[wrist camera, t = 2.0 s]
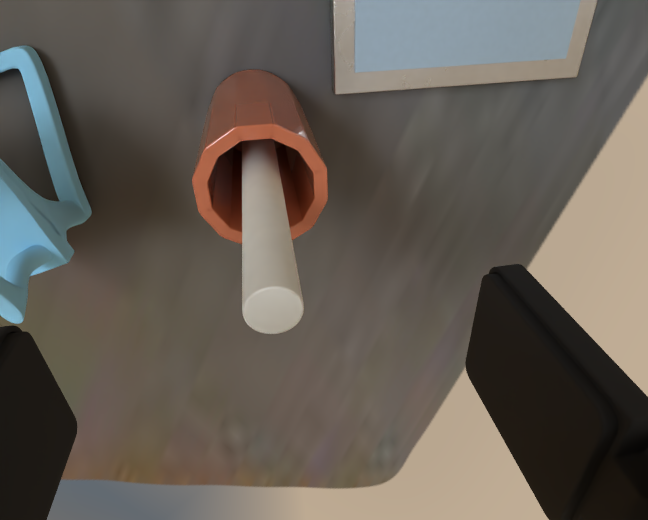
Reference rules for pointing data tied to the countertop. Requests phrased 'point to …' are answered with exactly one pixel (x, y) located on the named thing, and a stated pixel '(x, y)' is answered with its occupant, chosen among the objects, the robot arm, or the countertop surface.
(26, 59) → the chair
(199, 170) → the pen pot
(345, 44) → the plate
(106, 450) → the countertop surface
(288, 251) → the stylus
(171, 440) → the countertop surface
